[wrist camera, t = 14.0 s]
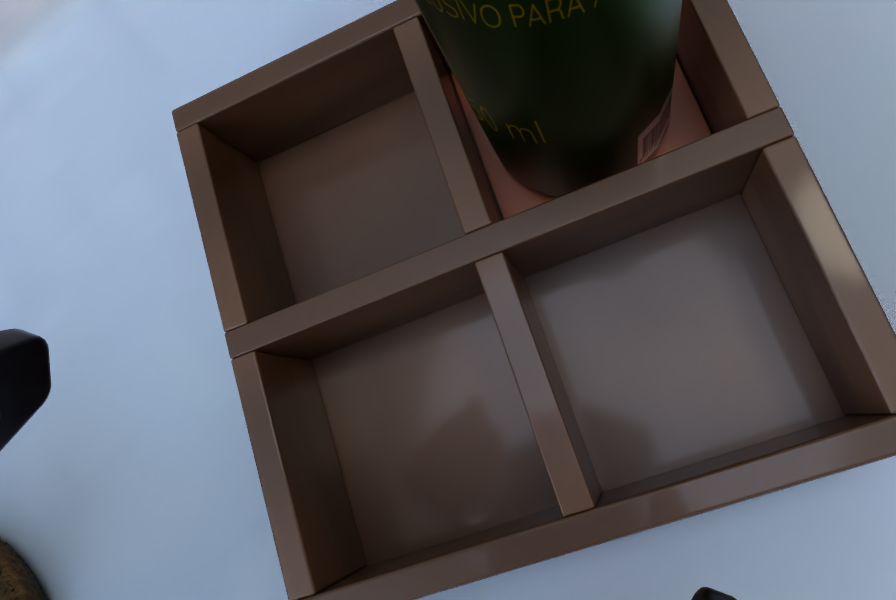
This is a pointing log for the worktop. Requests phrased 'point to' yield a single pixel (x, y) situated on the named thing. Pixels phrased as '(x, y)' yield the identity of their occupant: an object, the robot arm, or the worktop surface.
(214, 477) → the worktop surface
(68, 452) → the worktop surface
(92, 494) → the worktop surface
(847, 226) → the worktop surface
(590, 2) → the beer can
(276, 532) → the rack
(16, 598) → the beige bust sculpture
